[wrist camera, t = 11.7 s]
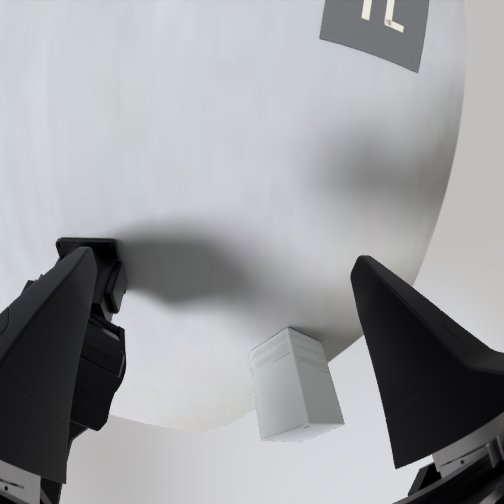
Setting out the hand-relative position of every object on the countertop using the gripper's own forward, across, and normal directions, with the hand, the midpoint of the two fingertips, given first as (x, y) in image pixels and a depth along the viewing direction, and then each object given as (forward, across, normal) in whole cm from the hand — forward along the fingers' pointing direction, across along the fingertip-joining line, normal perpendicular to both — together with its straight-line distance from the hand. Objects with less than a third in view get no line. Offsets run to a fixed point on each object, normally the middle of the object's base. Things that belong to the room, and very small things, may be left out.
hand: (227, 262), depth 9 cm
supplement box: (+13, -10, +26) cm, 31 cm away
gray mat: (+13, -10, -13) cm, 21 cm away
